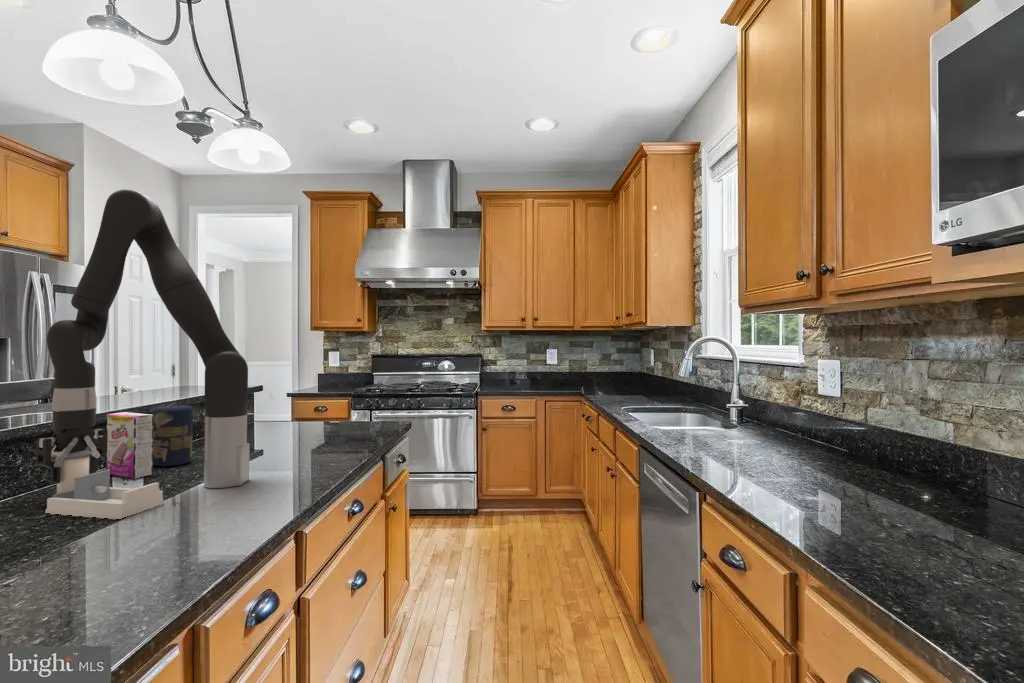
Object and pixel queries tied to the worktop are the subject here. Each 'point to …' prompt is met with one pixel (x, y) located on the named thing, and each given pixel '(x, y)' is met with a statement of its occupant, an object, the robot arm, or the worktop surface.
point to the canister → (172, 435)
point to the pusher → (93, 486)
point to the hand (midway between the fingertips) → (73, 478)
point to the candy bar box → (129, 444)
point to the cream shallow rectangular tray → (107, 503)
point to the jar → (73, 469)
